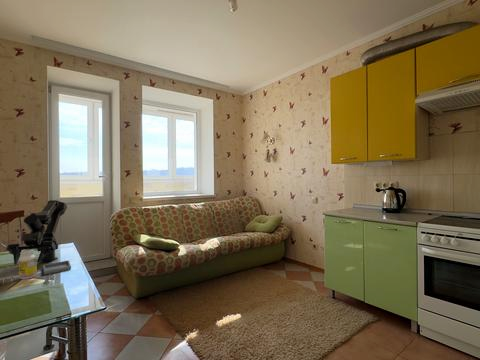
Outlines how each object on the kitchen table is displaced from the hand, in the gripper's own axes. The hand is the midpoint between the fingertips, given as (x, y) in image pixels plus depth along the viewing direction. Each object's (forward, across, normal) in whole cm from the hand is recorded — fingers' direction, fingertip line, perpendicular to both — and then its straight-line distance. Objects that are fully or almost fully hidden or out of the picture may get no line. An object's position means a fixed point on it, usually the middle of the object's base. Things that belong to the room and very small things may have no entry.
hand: (26, 263), depth 126 cm
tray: (-1, +10, +11) cm, 15 cm away
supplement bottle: (+4, 0, +6) cm, 7 cm away
